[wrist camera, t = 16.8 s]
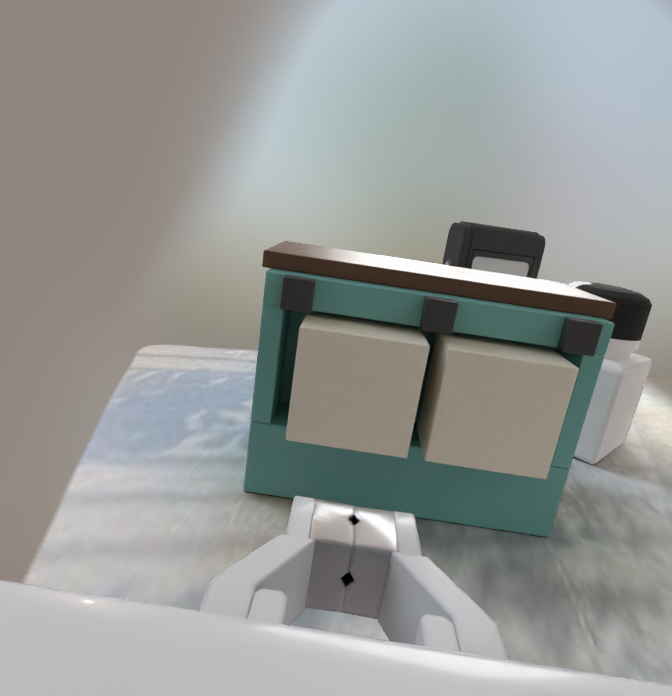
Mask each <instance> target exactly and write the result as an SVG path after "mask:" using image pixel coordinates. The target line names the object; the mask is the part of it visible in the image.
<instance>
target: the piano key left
mask: <svg viewBox="0 0 672 696" xmlns="http://www.w3.org/2000/svg"><path fill="white" fill-rule="evenodd" d="M429 348H430V346H429V344H428V342H427V340H426V338H425V336H424V334H423V332H422V330H421V328H420V327H416V326H409V325H403V324H396V323H389V322H383V321H376V320H369V319H363V318H356V317H350V316H343V315H336V314H330V313H323V312H316V311H311V312H310V313H309V314H308V313H307V314H306V316H305V318H304V320H303V322H302V324H301V326H300V329H299V336H298V344H297V352H296V360H295V368H294V376H293V384H292V392H291V399H290V407H289V415H288V423H287V431H286V440H288V441H295V442H302V443H308V444H315V445H321V446H328V447H335V448H341V449H348V450H354V451H361V452H368V453H374V454H381V455H387V456H394V457H401V458H407V456H408V451H409V446H410V441H411V436H412V431H413V426H414V422H415V417H416V412H417V407H418V402H419V397H420V392H421V387H422V383H423V378H424V373H425V368H426V363H427V358H428V353H429Z"/></svg>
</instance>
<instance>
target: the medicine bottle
mask: <svg viewBox="0 0 672 696" xmlns="http://www.w3.org/2000/svg"><path fill="white" fill-rule="evenodd" d="M566 285H569V286H571V287H574V288H577V289H579V290H582V291H585V292H588V293H590V294H593V295H596V296H598V297H601V298H604V299H607V300H609V301H612V302H615V303H616V307H615V310H614V313H613V317H612V319H606V318H603V319H606V320H608V321H610V322H612V323H614V324H615V325H614V328H613V331H612V335H611V338H610V341H609V344H608V348H607V351H606V354H604V359H603V363H602V366H601V369H600V372H599V376H598V379H597V382H596V385H595V389H594V392H593V395H592V398H591V402H590V405H589V408H588V411H587V414H586V418H585V421H584V424H583V427H582V431H581V434H580V437H579V440H578V444H577V447H576V450H575V453H574V457H576V458H579V459H581V460H583V461H586V462H588V463H590V464H595V463H597V462H598V461H599V460H601V459H602V458H604V457H605V456H606V455H608V454H609V453H610V452H612V451H613V450H614V449H616V448H617V447H618V446H620V445H621V444H622V443H624V442H625V440H626V437H627V435H628V432H629V429H630V426H631V423H632V420H633V417H634V414H635V411H636V408H637V405H638V402H639V399H640V396H641V393H642V390H643V387H644V384H645V381H646V378H647V375H648V372H649V369H650V367H651V360H650V359H649V358H647V357H644V356H641V355H637V354H634V353H631V352H632V351H635V350H637V349H638V347H639V343H640V340H641V337H642V334H643V331H644V328H645V325H646V322H647V319H648V316H649V313H650V310H651V307H652V304H651V302H650V300H649V299H647V298H646V297H645V296H643V295H642V294H641V293H638V292H635V291H632V290H628V289H625V288H621V287H616V286H612V285H606V284H600V283H591V282H578V281H577V282H573V283H569V284H566Z"/></svg>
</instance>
